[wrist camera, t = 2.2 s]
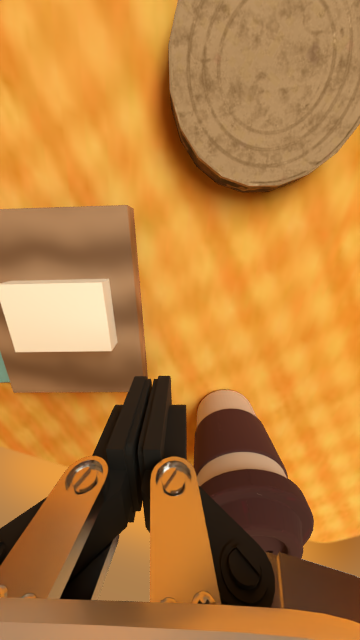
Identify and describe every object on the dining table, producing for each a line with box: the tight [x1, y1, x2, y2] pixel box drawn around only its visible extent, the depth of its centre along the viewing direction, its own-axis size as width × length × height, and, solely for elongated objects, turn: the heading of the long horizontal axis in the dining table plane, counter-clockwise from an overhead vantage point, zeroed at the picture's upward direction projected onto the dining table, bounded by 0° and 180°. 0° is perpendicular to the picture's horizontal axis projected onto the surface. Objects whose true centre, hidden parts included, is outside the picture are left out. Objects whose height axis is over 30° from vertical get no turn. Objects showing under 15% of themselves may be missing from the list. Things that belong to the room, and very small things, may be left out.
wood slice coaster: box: [169, 0, 360, 192], centre depth 18 cm, size 16×16×3 cm
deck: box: [0, 205, 148, 393], centre depth 25 cm, size 20×16×2 cm
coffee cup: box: [194, 390, 314, 559], centre depth 23 cm, size 10×10×15 cm
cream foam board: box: [0, 279, 117, 352], centre depth 23 cm, size 7×10×2 cm
